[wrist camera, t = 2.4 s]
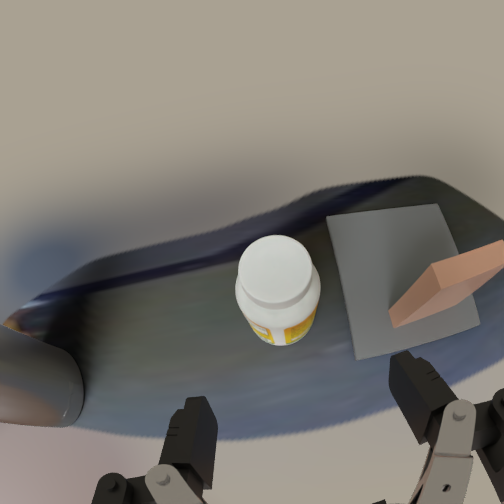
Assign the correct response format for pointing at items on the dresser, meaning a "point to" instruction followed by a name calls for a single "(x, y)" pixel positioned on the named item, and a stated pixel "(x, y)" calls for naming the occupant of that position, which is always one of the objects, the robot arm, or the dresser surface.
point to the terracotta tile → (448, 283)
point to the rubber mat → (393, 275)
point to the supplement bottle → (278, 289)
